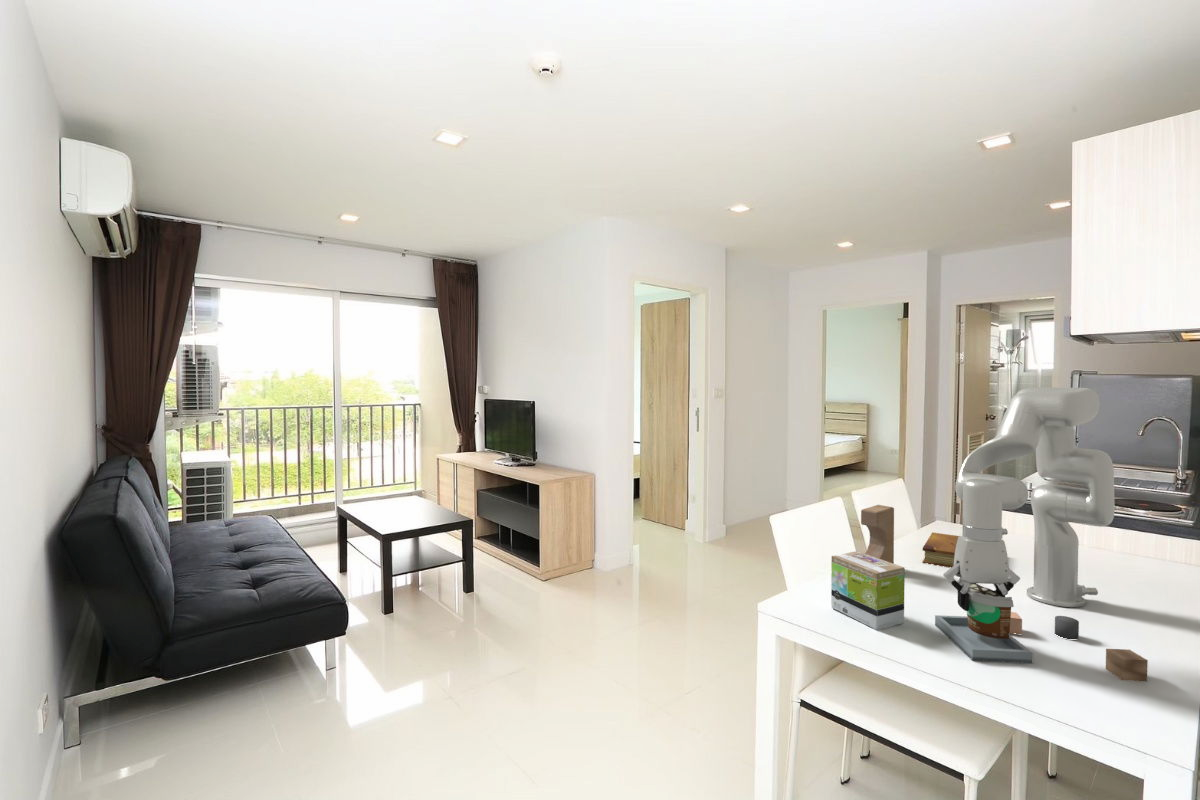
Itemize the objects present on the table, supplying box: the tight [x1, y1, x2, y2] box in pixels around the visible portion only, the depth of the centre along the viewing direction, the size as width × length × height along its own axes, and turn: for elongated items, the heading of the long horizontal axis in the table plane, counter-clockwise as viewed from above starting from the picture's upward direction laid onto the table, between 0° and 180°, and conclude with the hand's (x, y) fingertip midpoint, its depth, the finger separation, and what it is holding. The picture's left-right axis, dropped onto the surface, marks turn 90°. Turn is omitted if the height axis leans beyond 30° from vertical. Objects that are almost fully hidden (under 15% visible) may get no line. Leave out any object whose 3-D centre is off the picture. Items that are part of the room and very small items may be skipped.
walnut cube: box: [1105, 648, 1148, 682], centre depth 117 cm, size 4×4×4 cm
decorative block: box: [860, 504, 895, 564], centre depth 182 cm, size 11×6×20 cm, turn 126°
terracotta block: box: [1009, 611, 1023, 635], centre depth 139 cm, size 5×4×4 cm
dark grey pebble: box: [1054, 615, 1080, 640], centre depth 135 cm, size 4×4×4 cm
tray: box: [934, 615, 1034, 664], centre depth 132 cm, size 12×18×2 cm, turn 172°
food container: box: [966, 583, 1015, 639], centre depth 132 cm, size 12×6×10 cm, turn 5°
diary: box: [922, 531, 960, 568], centre depth 192 cm, size 23×19×6 cm
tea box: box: [830, 550, 906, 631], centre depth 148 cm, size 15×10×15 cm, turn 23°
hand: (980, 608), depth 132 cm, fingers closed on food container, 6 cm apart
